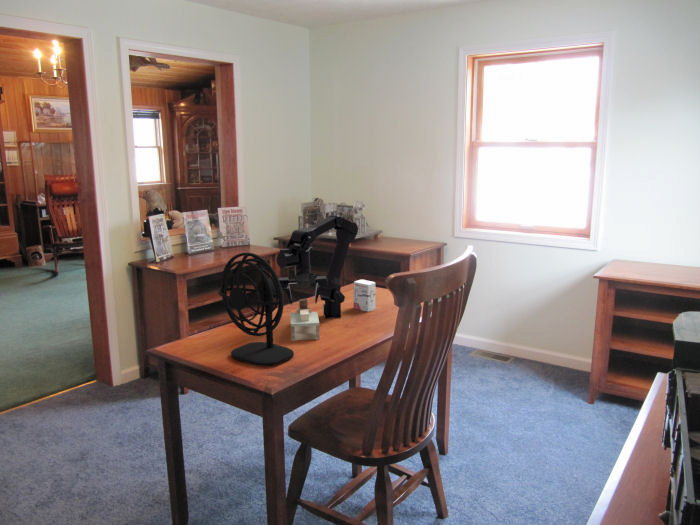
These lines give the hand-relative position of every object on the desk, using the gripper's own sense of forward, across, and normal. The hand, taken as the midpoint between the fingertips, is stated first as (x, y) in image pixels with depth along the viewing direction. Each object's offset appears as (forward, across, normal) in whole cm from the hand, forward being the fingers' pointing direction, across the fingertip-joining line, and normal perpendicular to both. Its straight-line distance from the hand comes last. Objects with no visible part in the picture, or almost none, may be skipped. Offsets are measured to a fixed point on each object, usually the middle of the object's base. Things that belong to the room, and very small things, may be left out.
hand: (303, 303), depth 213 cm
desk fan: (+8, -16, -31) cm, 36 cm away
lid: (+3, 0, -10) cm, 10 cm away
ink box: (+9, +26, +18) cm, 33 cm away
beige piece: (+8, 0, -7) cm, 11 cm away
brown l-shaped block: (+2, 0, -2) cm, 3 cm away
